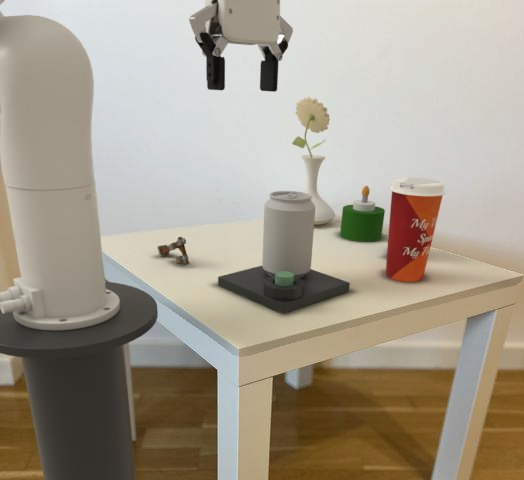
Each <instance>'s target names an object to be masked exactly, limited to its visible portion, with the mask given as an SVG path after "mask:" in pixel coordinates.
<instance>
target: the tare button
mask: <svg viewBox="0 0 524 480" xmlns="http://www.w3.org/2000/svg"><path fill="white" fill-rule="evenodd" d="M275 284H276V285H279V286H292V285H293V284H294V274H293V273H291V272H288V271H280V272H276V273H275Z"/></svg>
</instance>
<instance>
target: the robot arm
mask: <svg viewBox="0 0 524 480" xmlns="http://www.w3.org/2000/svg"><path fill="white" fill-rule="evenodd" d="M5 1H6V0H0V6H1V5H2V4H3V3H4V2H5ZM204 2H205V3H204V7H203V8H201V9H200V10H198V11H197V12H195V13H193V14H191V15H190V16H189V18H188V22H189V24H190V28H191V30H192V32H193V35H194V40H195V42H196V44H197V46H198V47H199V48H200V49H201V53H202V56H203V57H205V58H206V61H205V63H206V64H205V65H206V67H205V68H206V70H205V71H206V75H205V76H206V88H207V89H208V90H210V91H224V90H225V88H226V59H225V56H222V54H223V52H224V50H225V49H226V48H227V46H228V44H231V45H232V44H233V45H244V46H245V45H246V46H255V45H257V47H258V50H259V51H260V53H261V56H262V57H263V58H264V60H260V68H259V69H260V72H259V89H260V91H262V92H271V93H273V92H277V91H278V85H279V84H278V83H279V82H278V81H279V62H281V61H282V60H283V57H284V56H283V55H284V54H285V52H286V51H287V50H288V48H289V42H290V41H291V39H292V35H293V32H294V29H293V27H292V26H291V25H290V24H289V23H288V21H286V20H285V18H283V17H282V16H281V0H205V1H204ZM94 93H95V80H94V71H93V66H92V62H91V60H90V57H89V54H88V52H87V50H86V49H85V47H84V45H83V43H82V42H81V41H80V39H79V38H78V37H77V36H76V35H75V33H73V32H72V31H71V30H70V29H69V28H67V27H66V26H65V25H63V24H62V23H60V22H58V21H56V20H54V19H51V18H48V17H45V16H41V15H31V14H23V15H10V16H9V15H8V16H7V15H6V16H5V15H4V14H3V12H2V11H1V10H0V165H1V172H2V178H3V183H4V186H5V192H6V198H7V203H8V209H9V214H10V220H11V221H10V222H11V227H12V231H13V233H12V234H13V238H14V245H15V250H16V255H17V261H18V267H19V272H20V273H19V274H20V277H14V278H13V279H12V280H13V286H9V287H7V288H6V289H7V290H4V291H0V309H1V311H2V313H3V314H6V313H10V312H13V315H14V318H15V320H16V321H17V322H18V323H20V324H21V325H24V326H26V327H29V328H33V329H38V330H48V331H63V330H74V329H80V328H86V327H90V326H93V325H97V324H99V323H102V322H105V321H107V320H108V319H110V318H112V317H113V316H114V315H116V314H117V312H118V311H119V309H120V299H119V297H118V295H116V294H115V293H114V292H112V291H110V290H107V289H106V285H105V282H106V276H105V266H104V257H103V247H102V238H101V228H100V227H101V226H100V218H99V217H100V216H99V208H98V207H99V206H98V197H97V188H96V180H95V179H96V178H95V170H94V160H93V159H94V157H93V148H92V147H93V145H92V144H93V143H92V142H93V141H92V123H93V122H92V120H93V111H94V110H93V109H94V108H93V107H94V95H95V94H94Z"/></svg>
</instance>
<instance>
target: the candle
mask: <svg viewBox="0 0 524 480" xmlns="http://www.w3.org/2000/svg"><path fill="white" fill-rule="evenodd" d="M370 193H371V191H370V187H369V186H368V185H365V186H363V188H362V191H361V195H362V198H361V199H360V200H359V199H357V200H353V203H352V204H346V205H344V206H342V213H341V221H340V223H341V224H340V233H339V236H340V237H341V238H343V239H345V240H349V241H353V242H359V243H360V242H361V243H362V242H363V243H368V242H369V243H372V242H378V241H380V240H381V239H382V236H383V228H384V221H385V213H386V210H385V209H384V208H382V207H381V206H377V205H376V202H375V201H372V200H369V196H370Z"/></svg>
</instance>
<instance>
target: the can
mask: <svg viewBox="0 0 524 480" xmlns="http://www.w3.org/2000/svg"><path fill="white" fill-rule="evenodd" d="M304 192H305V191H304ZM304 192H303V191H298V190H297V191H296V190H277V191H272V192H270V193H269V194H268V196H269V198H268V200H266V202H265V203H264V206H263V208H264V209H263V233H262V235H263V236H262V262H261V263H262V264H261V266H262V267H263V269H264V270H265V271H266V272H267V273H268V274H269V275H271V276H275V273H276V272H280V271H288V272H291V273H293V274H294V277H296V278H300V277H303V276H304V275H305V274H306V273H307V272H309V271H310V270H311V269H312V257H313V245H314V232H315V231H314V230H315V225H314V220H315V207H316V206H315V205H314V204H313V202H312V201H311V198H312V196H311V195H310V194H308V193H304Z"/></svg>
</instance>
